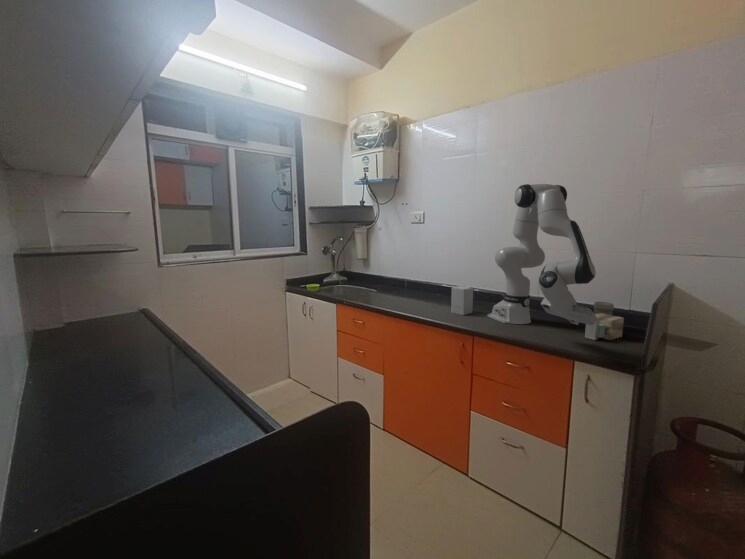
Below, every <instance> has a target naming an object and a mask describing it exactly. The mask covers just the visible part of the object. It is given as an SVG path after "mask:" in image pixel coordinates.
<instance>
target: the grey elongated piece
mask: <svg viewBox="0 0 745 559" xmlns="http://www.w3.org/2000/svg"><path fill="white" fill-rule="evenodd" d="M598 331H599V321H596V322H595V323H594V324H593V325H588V324H585V331H584V338H585V339H589V340H592V341H597V340H598V339H599V338H598Z"/></svg>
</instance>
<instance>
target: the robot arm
mask: <svg viewBox="0 0 745 559" xmlns="http://www.w3.org/2000/svg"><path fill="white" fill-rule="evenodd" d="M567 198H568V192H567V189H566V187H565V186H563V185H560V184H550V183H549V184H548V183H538V184H537V183H536V184H535V183H533V184H529V183H526V184H521V185H519V186H518V187H517V189H516V190H515V194H514V203H515V205H516V206H517V207H518V208H517V211H516V215H515V220H514V224H513V228H512V229H513V231H512V235H513V236H514V238H516V239H517V240H519V246H506V247H503V248H499V249H498V250H497V251H496V253H495V256H494V260H495V263H496V265H497V266H498V267H499V268H500V269H501V270H502V271H503V273H504V275H505V278H506V291H505V293H503V294H502V295H501V297H502V298H503V299H502V300H501V301H499V302H497V303H496V304H494V305H493V307H492V310H491V311H492V312H490V313H488V314H487V317H488V318H489V319H490V318H491V319H493V320H495V321H498V322H499V323H501V324H502V323H503V324H515V325H528V324H530V323H532V320H531V315H530V302H531V295H530V291H531V290H530V289H531V280H530V279H529V278H528V276H525V275H524V274H523V272H522V269H528V268H529V269H530V268H531V269H532V268H535V267H540V266H542V265H543V264H544V262H545V259H546V255H545V254H546V253H545V251H544V250H543V248H541V247H540V245H539V242H538V230H539V228H540V230H541V231H542V232H543V233H545V234H546V235H547V234H548V235H550V236H554V237H555V236H556V237H563V238H568V239H569V240H570V243H571V246H572V249H573V252H574V255H575V258H572V259H568V260H564V261H563V260H562V261H557V262H550V263H547V264H546V265H544V267H543V268H542V269H541V272H540V276H539V277H538V286H539V288H540V290H541V292H542V294H543V296H544V298H543V299H542V300H541V302H540V305H541V307H542V308H543V310H544V311H545V313H547V314H548V315H553V316H556V317H560V318H563V319H566V320H567V321H568V322H570V324H573V325H576V326H578V325H579V324H580V323H581V324H585V325H586V324H588V325H593V324H594V323H595V322H596V320H597V317H596V316H595V314H594V311H592V309H590V308H589V307H586V306H581V305H578V304H577V300H576V299H575V297H574V295H573V294H572V292H571V291H570V290H569V287H568V285H569V286H570V285H583V284H585V285H586V284H587V285H588V284H589V283H590V282H591V281H593V280H594V279H595V277H596V268H595V265H594V263H593V261H592V259H591V256H590V254H589V250H588V246H587V245H586V241H585V239H584V236H583V232H582V230H581V228H580V226H579V225H578V223H577V222H576V221H575V220H571V219H570V217H569V215H568V208H567V204H566V201H567Z"/></svg>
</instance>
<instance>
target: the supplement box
mask: <svg viewBox="0 0 745 559" xmlns="http://www.w3.org/2000/svg"><path fill="white" fill-rule="evenodd" d="M450 295H451V300H450V302H451V303H450V304H451V305H450V306H451V308H450V312H451V314H456V315H460V316H465V315H468V314H469V315H470V314H472V313H473V306H474V305H473V303H474V302H473V300H474V287H471V286H466V285H464V286H463V285H458V286H453V287H451V294H450Z"/></svg>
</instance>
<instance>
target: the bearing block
mask: <svg viewBox="0 0 745 559" xmlns="http://www.w3.org/2000/svg"><path fill="white" fill-rule="evenodd" d="M595 316H596V317H597V320H596V321H599V323H600V324H605V335H604V337H601V339H605V340H609V341H613V340H616V338H617V339H619V337H620V338H622V337H623V330H624V322H625V321H624V320H625V318H624V317H622V316H616V315H613V314H612V315H608V314H603V313H597V314H595Z"/></svg>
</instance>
